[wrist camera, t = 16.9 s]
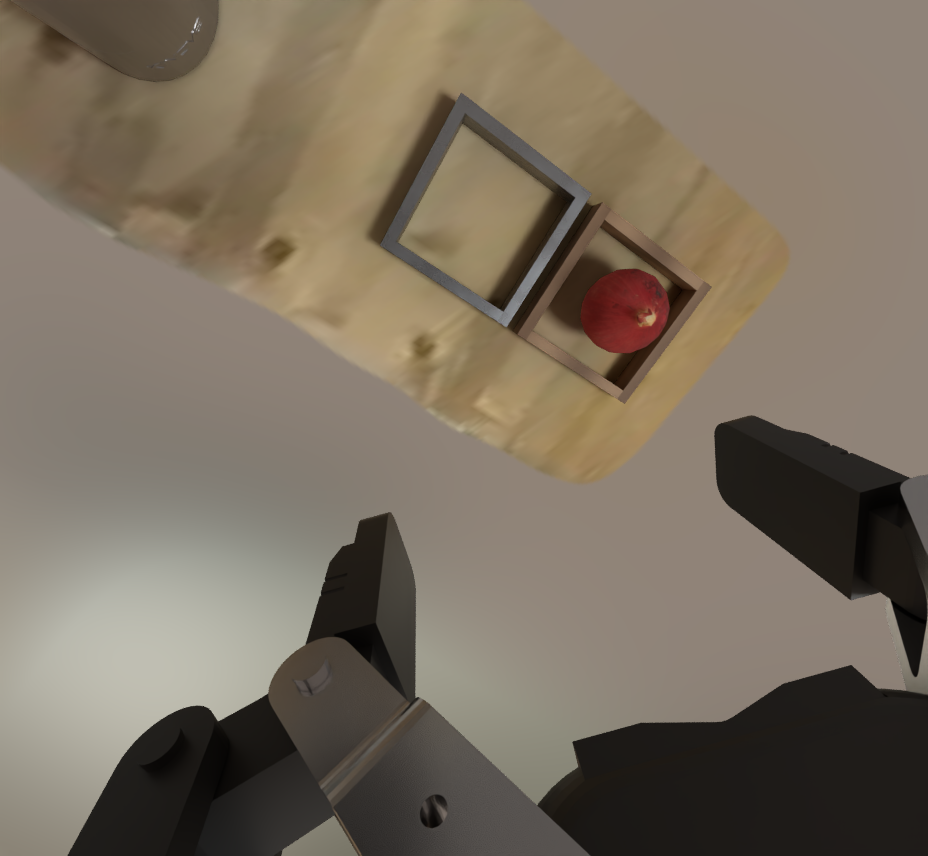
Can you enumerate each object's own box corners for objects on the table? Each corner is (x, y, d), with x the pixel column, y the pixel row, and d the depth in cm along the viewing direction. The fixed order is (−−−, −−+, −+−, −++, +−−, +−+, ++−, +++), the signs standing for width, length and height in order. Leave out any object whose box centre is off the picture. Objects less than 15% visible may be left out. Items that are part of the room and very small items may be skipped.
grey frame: (382, 246, 33) (380, 245, 31) (459, 103, 30) (461, 92, 28) (502, 324, 35) (506, 327, 33) (582, 198, 33) (591, 193, 31)
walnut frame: (512, 331, 35) (517, 334, 34) (592, 206, 33) (602, 202, 31) (614, 397, 38) (624, 403, 36) (696, 286, 35) (711, 287, 34)
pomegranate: (610, 252, 34) (663, 246, 27) (653, 308, 36) (715, 317, 28) (553, 307, 35) (589, 316, 28) (597, 359, 37) (642, 381, 29)
